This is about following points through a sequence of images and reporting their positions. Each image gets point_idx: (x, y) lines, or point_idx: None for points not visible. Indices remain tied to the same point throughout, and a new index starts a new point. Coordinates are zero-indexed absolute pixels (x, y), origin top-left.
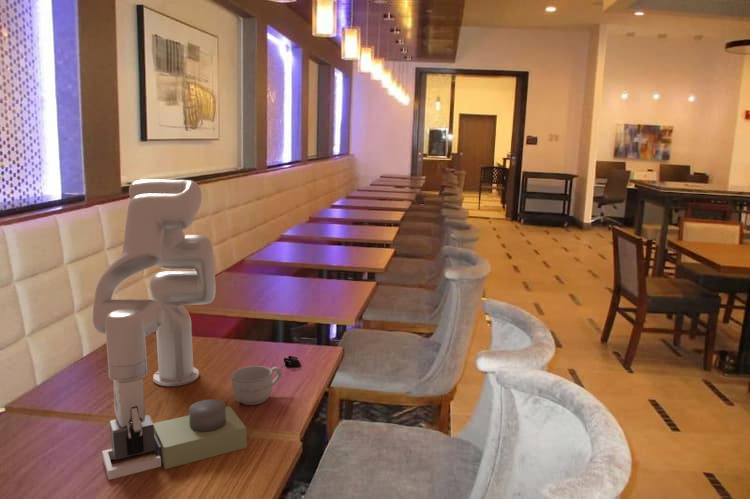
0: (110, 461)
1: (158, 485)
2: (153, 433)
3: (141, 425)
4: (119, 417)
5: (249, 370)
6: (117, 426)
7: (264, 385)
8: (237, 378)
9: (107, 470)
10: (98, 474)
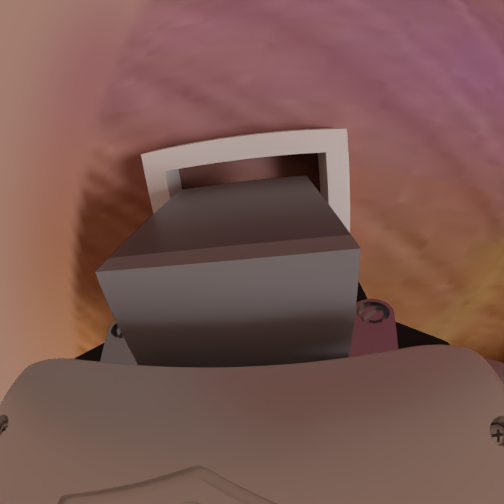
0: (221, 161)
1: (100, 294)
2: None
3: None
4: (19, 422)
5: None
6: (172, 314)
7: None
8: None
9: (158, 150)
10: (213, 108)
